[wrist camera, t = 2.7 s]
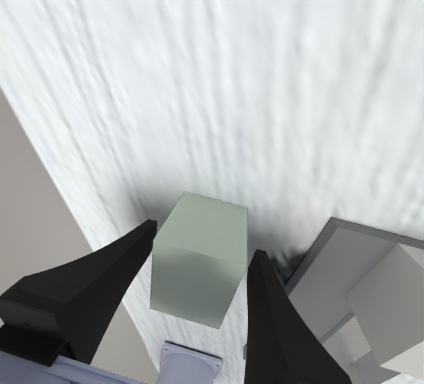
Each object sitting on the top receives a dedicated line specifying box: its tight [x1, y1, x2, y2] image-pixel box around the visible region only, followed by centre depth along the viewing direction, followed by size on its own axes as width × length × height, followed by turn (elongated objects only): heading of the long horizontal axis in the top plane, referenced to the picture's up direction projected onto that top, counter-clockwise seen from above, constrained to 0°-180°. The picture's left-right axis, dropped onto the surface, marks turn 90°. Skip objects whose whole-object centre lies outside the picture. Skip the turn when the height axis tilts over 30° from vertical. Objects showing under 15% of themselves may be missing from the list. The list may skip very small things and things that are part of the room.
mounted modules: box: [342, 243, 424, 384], centre depth 14 cm, size 20×6×4 cm, turn 168°
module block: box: [150, 191, 247, 329], centre depth 12 cm, size 6×4×5 cm
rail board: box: [243, 217, 424, 384], centre depth 16 cm, size 20×13×1 cm, turn 168°
